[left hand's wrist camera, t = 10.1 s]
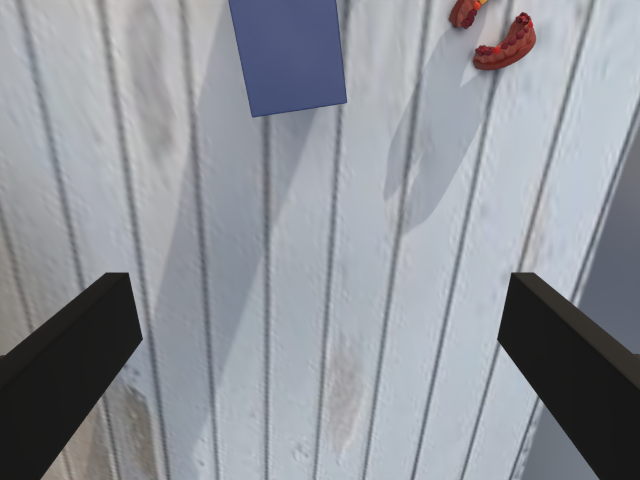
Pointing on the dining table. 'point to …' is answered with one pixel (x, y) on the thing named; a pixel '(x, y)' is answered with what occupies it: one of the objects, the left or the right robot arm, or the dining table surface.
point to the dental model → (507, 51)
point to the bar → (289, 54)
